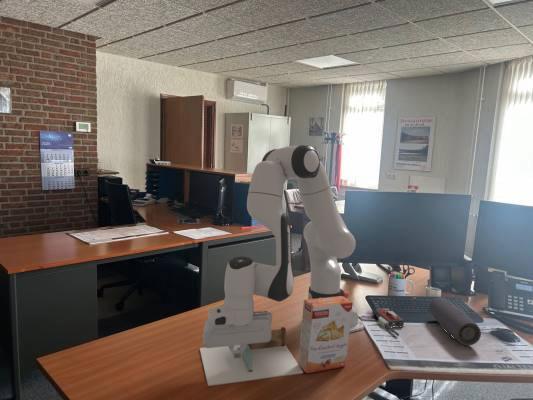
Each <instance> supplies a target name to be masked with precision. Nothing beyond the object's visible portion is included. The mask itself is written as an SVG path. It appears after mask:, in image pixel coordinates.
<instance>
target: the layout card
mask: <svg viewBox="0 0 533 400" xmlns="http://www.w3.org/2000/svg"><path fill="white" fill-rule="evenodd" d="M239 349H240V345H234V349H233V350H239ZM199 352H200V357H201V362H202V366H203V370H204V375H205V379H206V383H207V387H211V386H218V385H226V384H232V383H234V384H235V383H240V382H241V383H242V382H248V381H255V380H263V379H269V378H270V379H271V378H278V377H285V376H292V375H300V374H304V370H303V369H302V368H301V367H300V366H299V364H298V361H296V359H295V357H294V355H293V354H292V352H291V351H290V350H289V348H288V346H287V345H286V344H285V346H279V347H270V348H261V349H252V350H251V352H252V370H249V371H248V368H247V365H246V363H245V360H244V357H243V355H242V358H236V359H232V356H231V353H232V352H231V351H230V349H229V347H228V346H225V347H215V348H206V347H205V346H204V347H199Z"/></svg>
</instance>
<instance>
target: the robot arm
mask: <svg viewBox="0 0 533 400" xmlns="http://www.w3.org/2000/svg"><path fill="white" fill-rule="evenodd" d="M292 180H296V181H297V186H298V187H297V188H298V191H299V194H300V198H301V202H302V205H303V209H304V213H305V215H306V216H307V218H308V219H309V220H310V221H309V222H307V223H306V225H304V228H303V238H304V240H305V242H306V245H307V246H306V247H307V251H308V256H309V263H310V277H309V278H310V281H309V286H308V294H307V299H316V298H327V297H337V296H343V297H344V298H346V299H348V298H349V297H350V293H348V292H347V291H346V290H345V291H344V289H342V288H341V279H342V277H341V276H342V269H341V266H340V264H339V261H338V259H347V258H348V257H350V256H351V255H353V253H354V251H355V250H356V246H357V245H356V239H355V237H354V235H353V234H352V232H351V231H350V230H349V229H348V227H347V225H346V223H345V221H344V219H343V218H342V216H341V214H340V212H339V210H338V208H337V204H336V202H335V198H334V195H333V191H332V187H331V184H330V183H331V182H330V179H329V177H328V173H327V171H326V169H325V166H324V164H323V163H322V161H321V159H320V155H319V153H318V152H317V150H316V149H315V148H314V147H313V146H311V145H306V144H301V145H289V146H288V145H287V146H284V147H281V148H274V149H271V150H269V151H268V152H265V154H264V156H263V157H262V158H261V161H260V162H258V163H257V164H256V166H255V167H254V170H253V172H252V176H251V179H250V182H249V188H248V194H247V199H246V210H247V212H248V215H249V216H250V217H251V218H252V219H253V221H255V222H256V223H258V224H260V225H261V226H263V227H265V228H266V229H268V230H269V231H270V232H271V233H272V234H273V236H274V239H275V259H276V262H275V263H276V264H275V265H270V264H265V263H264V264H263V263H260V262H255V261H254V260H253V259H252V258H250V257H248V256H235V257H233V258H231V259H229V260H228V262H227V265H226V269H225V274H224V285H223V286H224V287H223V288H224V294H225V295H224V299H223V303H222V305H218V306H216V307H214V308H211V309H209V310H208V311H207V319H206V321H205V322H204V326H203V332H202V344H203V346H204V347H206V348H215V347H225V346H228V347H229V349H230V351H231V352H232V353H231V356H232V359H236V358H242V353H243V352H244V350H245V349H246V344H254V343H263V342H269V341H270V340H271V330H272V326H271V324H272V322H273V315H272V313H271V312H269V311H267V310H263V311H259V310H258V311H255V310H254V309H255V302H254V296H259V297H263V298H268V299H269V300H271V301H272V300H273V301H276V302H278V303H280V302H283V301H284V300H286V299H288V298H289V297H290V296H292V293H293V290H294V283H295V282H294V280H295V279H294V272H293V271H294V270H293V256H292V255H293V254H292V253H293V250H292V246H293V245H292V227H291V220H290V217H289V216H288V214H286V213H285V211H284V206H283V200H284V199H283V197H284V191H285V190H284V187H285V183H286V181H292ZM364 328H365V325H364V322H363V321H362V320H361V319H360V318H359V314H358V311H357V309H356V308H355V307H354V306H353V305H352V313H351V322H350V330H349V334H351V333H354V332H358V331H362V330H364ZM234 345H241V347H240V349H239V350H233V349H234Z"/></svg>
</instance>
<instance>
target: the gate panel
mask: <svg viewBox="0 0 533 400" xmlns="http://www.w3.org/2000/svg"><path fill="white" fill-rule="evenodd" d="M240 347H241V345H240ZM242 355H243V357H244V360H245V363H246V365H247V368H248V371H249V370H252V352H251V350H250V347H249V345H248V344H246V349H245V350H244V352H243V353H242Z"/></svg>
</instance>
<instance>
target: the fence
mask: <svg viewBox="0 0 533 400" xmlns="http://www.w3.org/2000/svg"><path fill="white" fill-rule="evenodd" d="M286 328H287V327H285V326H283V327H280V328H279V329H271V340H270V341H269V342H263V343H254V344H248V345H249V347H250V350H252V349H261V348H270V347H279V346H285V345H286V337H287V336H286V334H287V333H286V331H287V329H286Z"/></svg>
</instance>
